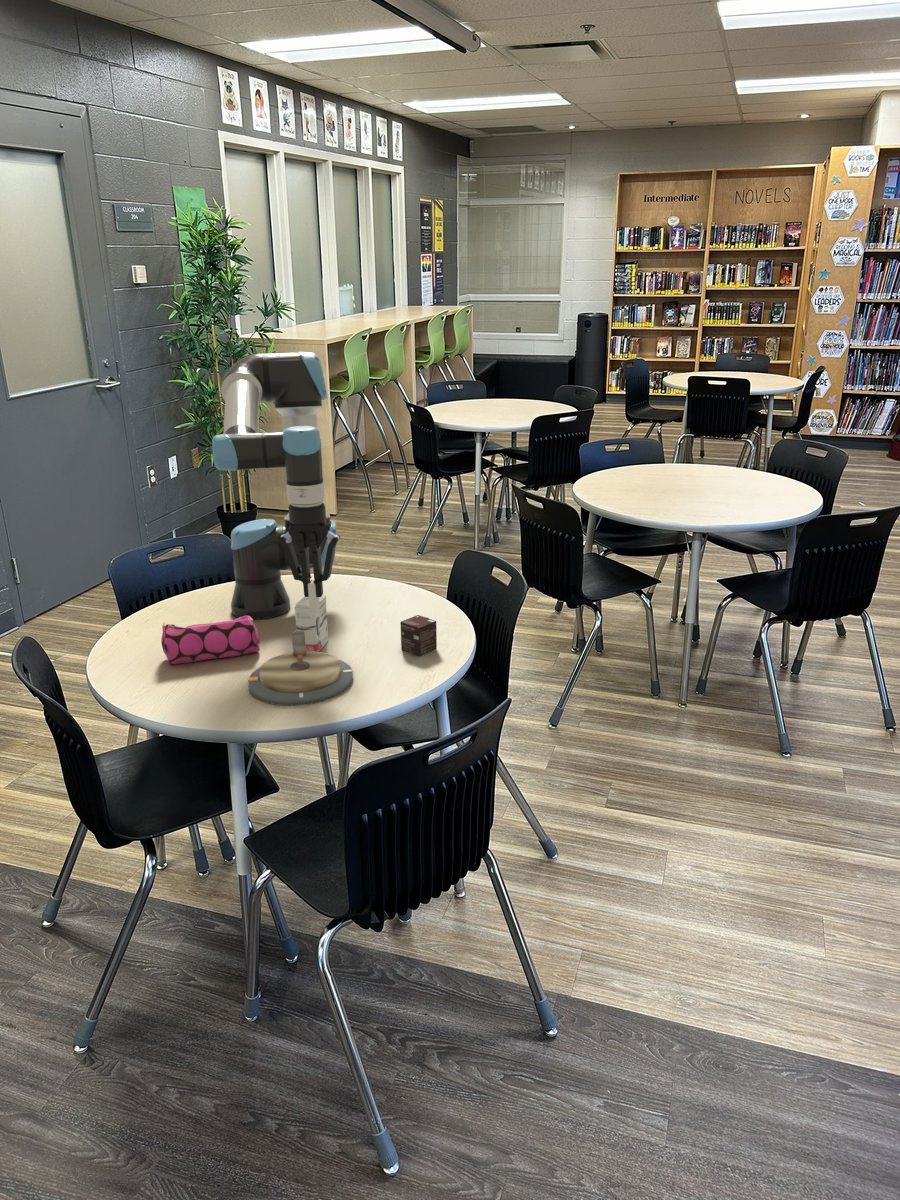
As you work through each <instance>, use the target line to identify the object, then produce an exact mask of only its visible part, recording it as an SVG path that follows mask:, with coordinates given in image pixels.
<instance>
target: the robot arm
mask: <svg viewBox="0 0 900 1200" xmlns="http://www.w3.org/2000/svg"><path fill="white" fill-rule="evenodd" d="M325 382H326V381H325V377H324V372H323V367H322V364H321V359H320V357H319V355H318V354H316V353H315V352H313V351H311V352H310V351H299V350H298V351H292V352H291V351H290V352H288V351H287V352H267V353H266V352H265V353H262V352H261V353H253V354H249V355H246V356H244V357H242V358H240V359H239V360H237V361H236V362H235V363H234V364H232V365H231V366H230V368H229V369H228V370H227V371H226V372H225V374H224V376H223V378H222V380H221V386H220V387H221V389H220V393H221V396H222V398H223V401H224V414H223V415H224V418H223V433H221V434H216V435H214V436H213V437H212V440H211V445H212V446H211V447H212V457H213V464H214V467H215V468H216V470H219V471H232V472H236V471H244V470H245V471H246V470H247V471H248V470H259V469H276V468H277V469H279V468H284V469H285V476H286V479H285V480H286V492H287V493H286V494H287V502H288V505H289V506H288V513H287V514H286V515H285V516H284V524H277V522H276V520H275V519H272V518H261V519H255V520H251V521H250V520H249V521H246V522H243V523H241V524H238V525H237V526H236V527H234V528H233V529H232V530H231V533H230V543H231V545H230V549H231V552H232V561H233V572H234V573H233V574H234V579H235V580H234V581H235V585H234V590H233V593H232V598H231V602H230V608H231V614H232V615H233V616H234V617H236V618H239V617H243V616H245V615H247V616H250V617H251V618H252V619H253V620H264V619H270V618H274V617H278V616H281V615H284V614H285V613H287V612H288V611H289V610H290V609H291V601H290V599H291V598H290V596H289V595H288V592H287V590H286V588H285V585H284V583H283V580H282V576H281V572H282V571H291V574H292V576H293V579H294V580H295V581H299V582H301V583H302V586H303V595H304V596H305V597H309V607H310V613H317V612H318V611H319V609H320V603H319V597H321V596H322V595H324V587H323V586H324V585H323V582H325V581H328V580H329V578H330V577H331V575H332V568H333V564H334V562H335V558H336V549H337V548H336V547H337V545H338V543H339V540H341V536H340V535H339V534H337V523H336V521H333V520H331V515H330V513H328V512H327V510H326V504H325V503H324V501H325V500H326V499H325V498H326V497H325V496H326V495H325V486H324V475H323V474H324V473H323V456H322V455H323V454H322V440H321V434H320V430H319V429H318V417H317V415H318V412H320V410H321V409H322V408H323V401H325V400H327V398H328V394H327V393H328V392H327V387H326V383H325ZM262 402H264V403H265V402H267V403H270V402H272V403H274V409H275V411H276V412H277V413H278V414H280V415H281V422H282V431H271V432H270V431H268V432H264V431H263V432H260V430H259V429H260V423H259V422H260V421H259V416H260V414H259V403H262ZM311 569H313V576H311V574H312V573H311ZM312 577H313V579H312ZM304 596H303V597H304Z"/></svg>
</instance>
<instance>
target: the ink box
mask: <svg viewBox="0 0 900 1200" xmlns="http://www.w3.org/2000/svg"><path fill="white" fill-rule="evenodd" d="M319 603H320V609H319V611H318V612H317V613H310V607H309V597H305V596H303V597H302V598H301V599H300V600H298V602H296V603H295V605H294V613H295V631H304V632H305V644H306V651H316V652H321V650H322V648H324V646H325V645H326V644H327V643H328V642H329V636H328V635H329V633H328V632H329V631H328V615H327V610H328V609H327V596H326V595H324V594H323V595H322V596H321V597H319Z"/></svg>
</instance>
